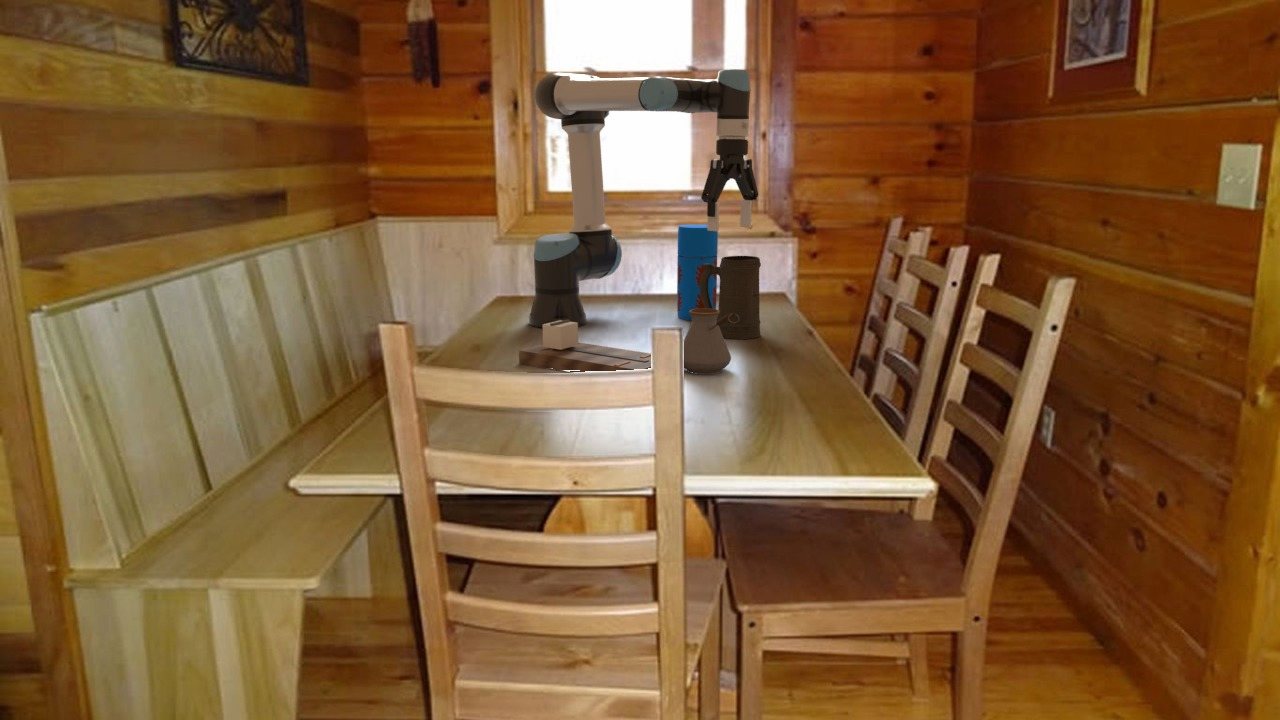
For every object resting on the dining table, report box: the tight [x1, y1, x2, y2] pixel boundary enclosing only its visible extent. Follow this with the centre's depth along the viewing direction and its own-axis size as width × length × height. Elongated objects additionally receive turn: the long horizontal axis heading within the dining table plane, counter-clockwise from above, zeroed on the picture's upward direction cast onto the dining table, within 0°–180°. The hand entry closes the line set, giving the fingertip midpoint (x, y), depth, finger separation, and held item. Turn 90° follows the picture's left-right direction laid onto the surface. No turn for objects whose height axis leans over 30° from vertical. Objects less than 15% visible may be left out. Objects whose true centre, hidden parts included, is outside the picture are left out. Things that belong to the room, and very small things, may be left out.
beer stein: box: [700, 255, 762, 340], centre depth 234 cm, size 15×11×20 cm
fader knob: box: [542, 320, 579, 350], centre depth 206 cm, size 5×6×5 cm
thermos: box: [676, 224, 719, 321], centre depth 258 cm, size 11×11×25 cm
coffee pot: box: [683, 308, 739, 376], centre depth 193 cm, size 21×12×15 cm, turn 18°
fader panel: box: [518, 341, 652, 372], centre depth 201 cm, size 32×14×3 cm, turn 55°
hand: (729, 229), depth 226 cm, fingers open, 13 cm apart
